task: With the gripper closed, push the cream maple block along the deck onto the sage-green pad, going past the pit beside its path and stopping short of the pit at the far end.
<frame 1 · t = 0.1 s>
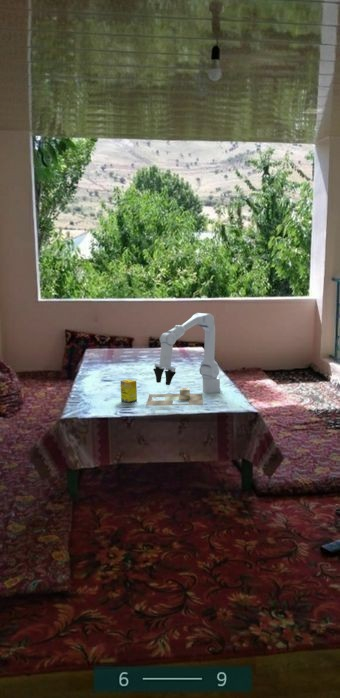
hand: (163, 383, 262), 10 cm above the table, tool pointing down, fingers open, 7 cm apart
deck: (175, 402, 267), on the table
supplement box: (129, 401, 271), on the table
block: (184, 398, 268), point 1 cm above the table, touching deck
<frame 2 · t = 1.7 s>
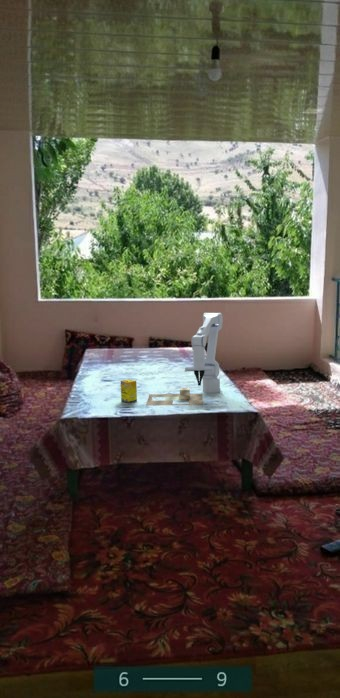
hand: (199, 385, 267), 8 cm above the table, tool pointing down, fingers closed
nothing on the table moved.
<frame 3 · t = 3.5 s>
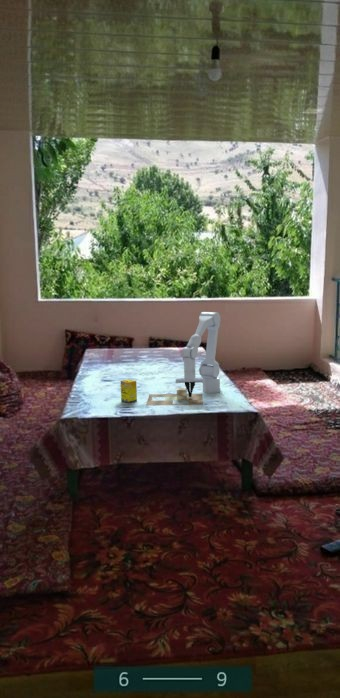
hand: (190, 396, 268), 2 cm above the table, tool pointing down, fingers closed
block: (181, 398, 268), point 2 cm above the table, touching gripper
everything else where it was.
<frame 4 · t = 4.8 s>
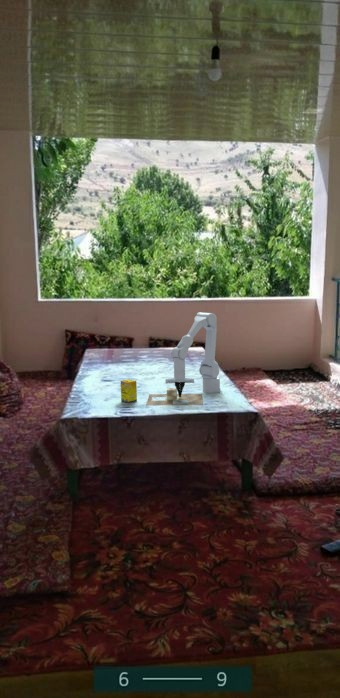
hand: (180, 396, 268), 2 cm above the table, tool pointing down, fingers closed
block: (172, 398, 269), point 1 cm above the table, touching deck, gripper
everything else where it was.
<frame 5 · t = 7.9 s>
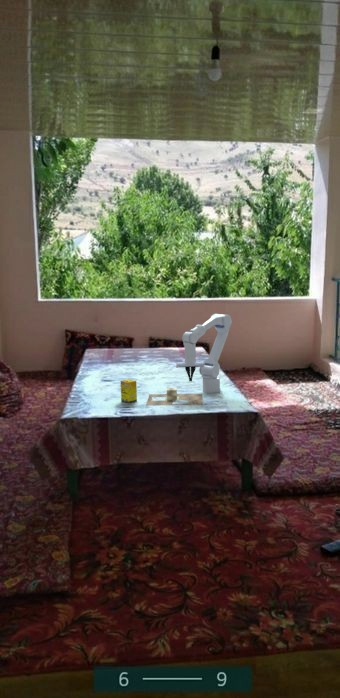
hand: (190, 380, 272), 9 cm above the table, tool pointing down, fingers closed
block: (172, 398, 269), point 1 cm above the table, touching deck
everything else where it was.
at the end: block 0.5 cm from the target spot on the deck, point 1.5 cm above the deck's base; block tilted 0° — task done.
